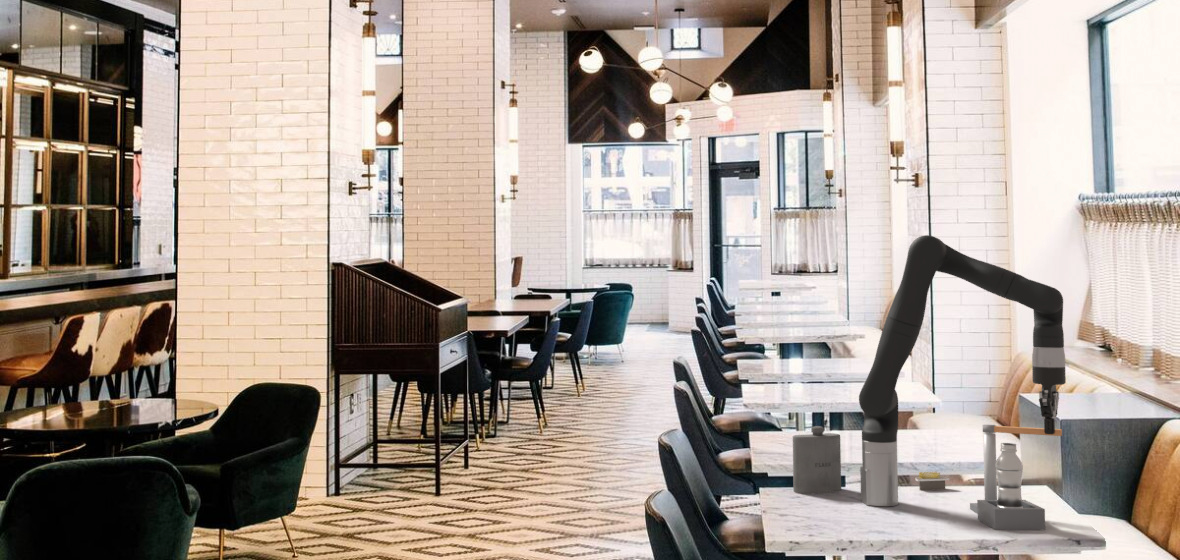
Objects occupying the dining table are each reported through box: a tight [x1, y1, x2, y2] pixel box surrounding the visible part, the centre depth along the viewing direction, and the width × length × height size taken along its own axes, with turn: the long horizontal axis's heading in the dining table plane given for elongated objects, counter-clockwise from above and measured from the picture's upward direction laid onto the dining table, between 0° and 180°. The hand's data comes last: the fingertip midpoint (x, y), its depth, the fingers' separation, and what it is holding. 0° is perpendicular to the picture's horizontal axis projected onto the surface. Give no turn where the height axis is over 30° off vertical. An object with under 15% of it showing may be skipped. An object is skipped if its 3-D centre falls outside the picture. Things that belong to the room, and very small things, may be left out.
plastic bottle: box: [995, 442, 1024, 508], centre depth 229 cm, size 6×7×20 cm
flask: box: [792, 425, 842, 495], centre depth 266 cm, size 15×6×20 cm, turn 107°
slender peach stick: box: [982, 424, 1063, 437], centre depth 237 cm, size 19×3×2 cm, turn 59°
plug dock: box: [969, 432, 1046, 531], centre depth 234 cm, size 12×22×21 cm, turn 178°
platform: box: [915, 471, 950, 491], centre depth 267 cm, size 12×18×7 cm, turn 98°
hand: (1049, 433), depth 231 cm, fingers closed
